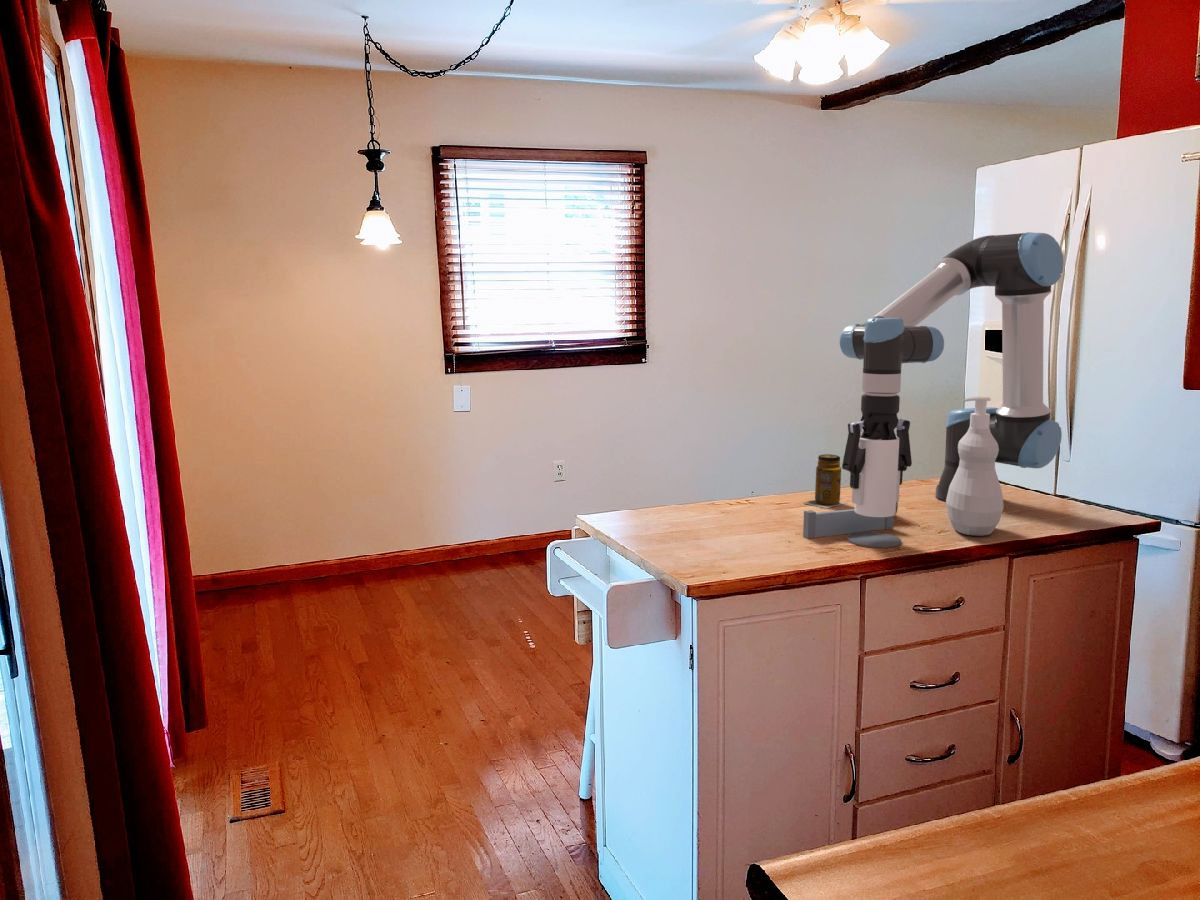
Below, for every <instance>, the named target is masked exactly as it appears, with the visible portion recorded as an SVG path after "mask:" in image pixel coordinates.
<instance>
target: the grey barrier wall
mask: <svg viewBox="0 0 1200 900" xmlns="http://www.w3.org/2000/svg"><path fill="white" fill-rule="evenodd" d="M854 510H855V508H851V509H843V510H842V509H840V510H830V511H822V512H816V511H814V510H804V511H803V529H802V530H803V531H802V536H803V537H804V538H806V539H815V538H819V537H828V536H837V535H839V536H840V535H846V534H853V533H858V532H873V531H881V530H882V531H883V530H893V529H894V516H890V517H869V516H863V515H859V514H857V513H855V511H854Z"/></svg>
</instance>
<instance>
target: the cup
mask: <svg viewBox="0 0 1200 900" xmlns="http://www.w3.org/2000/svg"><path fill="white" fill-rule="evenodd" d="M861 435H862V434H860V441H859V448H860V449H865V448H866V453H865V463H864V466H863V468H862V470H861V473H863V474H864V490H863V505H858V504H855V503H854V509H855V510H854V511H855V513H857V514H859V515H863V516H869V517H890V516H893V517H895V516H896V515H895V512H896V493H897V475H898V456H899V437H897V436H896V438H897V439H895V440H882V438H881V439H878V440H871V439H864V438H861ZM867 438H869V437H867ZM894 515H895V516H894Z"/></svg>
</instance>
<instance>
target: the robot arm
mask: <svg viewBox="0 0 1200 900" xmlns="http://www.w3.org/2000/svg"><path fill="white" fill-rule="evenodd" d="M1063 271H1064V255H1063V251H1062V247H1061V246H1060V244H1059V242H1058V241H1057V240H1056V239H1055V237H1054V236H1053V235H1051V234H1049V233H1045V232H1023V233H1022V232H1021V233H1010V234H997V235H996V234H995V235H994V234H993V235H992V234H991V235H985V236H980V237H978V238H975V239H973V240H970V241H968V242H966V243H964V244H963V245H961V246H959V247H957V248H955V249H954V250H952V251H950V252H949V253H948V254H946V255H945V256H943V257H942V258H941V259H940V260H938V261H937V262H936V263H935V265H934V268H933V270H932V271H931V272H930V273H929V274H927V275H925V277H923V278H922V279H921V280H919V281H918V282H917V283H915V284H914V285H913V286H912V287H910V288H909V289H907V291H905V292H904V293H903V294H901V295H900V296H898V297H897V298H896V299H894V301H892V302H890V304H888V305H887V306H886V307H885V308H883V309H882V310H881V311H879V312H878V313H876V314H875V315H874V316H872V317H870V318H868V319H867V320H866V321H865V322H864V323H863V324H862V323H861V324H859V323H855V324H850V325H847V326H846V327H845V328H844V329H843V330H842V332H841V333H840V336H839V347H840V349H841V352H842V354H843V355H844V356H845V357H847V358H850V359H857V360H859V361H861V360H863V363H862V364H863V366H862V367H863V368H862V378H861V379H862V380H861V383H862V384H861V391H862V392H863V393H864V394H862V395H861V399H860V400H861V401H860V402H861V403H860V411H861V414H862V415H861V418H860V420H859V421H857V422H853V421H849V422H848V423H847V428H848V429H847V431H848V433H847V434H848V435H847V439H846V444H845V450H844V454H843V458H842V459H843V460H842V465H841V469H842V470H845V471H848V472H849V487H850V488H851V489H852V492H851V503H852V504H854V505H855V504H858V505H863V490H864V474H863V473H861V470H862V468H863V466H864V463H865V453H866V448H865V449H860V448H859V441H860V435H861V438H864V439H871V440H878V439H881V438H882V440H895V439H897V438H896V437H899V456H898V475H897V493H896V502H898V503H899V502H900V486H902V485H903V472H905V471H907V469H908V468H909V467H911V466H912V463H913V461H912V453H911V443H910V433H909V432H910V428H911V421H910V420H908V419H901V418H900V419H899V417H898V413H900V403H901V402H900V401H901V399H900V396H899V393H900V392H901V386H902V385H901V384H902V382H901V381H902V364H914V363H915V364H916V363H922V364H926V363H929V362H934V361H935V360H937V359H938V358H939V357H941V355H942V353H943V351H944V347H945V338H944V336H943V334H942V332H941V331H940V330H939V329H938V328H936V327H934V326H927V325H920V326H917V325H919V324H920V323H921V322H923V320H925V319H927V318H928V317H929V316H930V315H932V314H933V313H934V312H936V311H937V310H938V309H939V308H940V307H942V306H943V305H944V304H946V302H948V301H949V300H950V299H952V298H954V296H961V295H964V294H965V293H966V292H968V291H969V290H972V289H976V288H980V287H981V288H982V287H994V297H996V299H998V300H999V301H1000V302H1001V305H1002V306H1001V308H1002V309H1001V310H1002V311H1001V312H1002V313H1001V314H1002V315H1001V317H1002V318H1001V319H1002V320H1001V322H1002V323H1001V324H1002V326H1001V327H1002V329H1001V330H1002V332H1001V335H1002V337H1001V338H1002V339H1001V340H1002V346H1001V347H1002V350H1001V351H1002V404H1001V405H1000V406H999V407H998V408H997V407H993V406H988V407H986V414H990V422H989V428H990V432H991V434H992V436H993V437H994V439H995V440H996V442H997V443H998V448H999V451H998V455H997V458H996V460H995V463H997V464H1004V465H1010V466H1013V467H1014V466H1015V467H1020V468H1024V469H1026V468H1030V469H1042V468H1045V467H1046V466H1048V464H1050V463H1051V462H1052V461H1053V459H1054V458H1055V457H1056V455H1057V453H1058V452H1059V449H1060V446H1061V443H1062V437H1063V436H1062V434H1063V433H1062V431H1063V430H1062V428H1061V426H1060V424H1059V422H1057V421H1055V420H1054V419H1051V409H1050V408H1049V407H1048V406H1047V405H1046V404H1045V403H1044V333H1045V332H1044V330H1045V329H1044V323H1045V321H1044V320H1045V319H1044V310H1045V309H1044V307H1045V305H1044V304H1045V303H1044V302H1045V299H1046V298H1047V297H1048V296H1049V295H1050V294H1051V293H1052V286H1053V285H1055V284H1057V283H1058V282H1059V280H1060V279H1061V277H1062V275H1061V274H1062V273H1063ZM971 413H975V407H970V408H969V407H968V408H959V409H958V408H957V409H952V410H951V411H950V412H949V413H948V415H947V422H946V426H945V428H946V431H945V432H946V434H945V453H944V454H945V455H944V467H943V470H942V473H941V476H940V478H939V481H938V484H937V485H936V487H935V498H937V499H938V500H941V501H944V502H946V499H947V494H948V490H949V486H950V484H951V482H952V480H953V478H954V475H955V473H956V471H957V469H958V467H959V462H960V457H959V453H958V444H959V441H960V440H961V439H962V437H963V436H964V435H965V434H966V433H967V431H968V429H969V427H970V415H971ZM895 429H896V432H895ZM861 432H862V434H861ZM867 437H869V438H867Z"/></svg>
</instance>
